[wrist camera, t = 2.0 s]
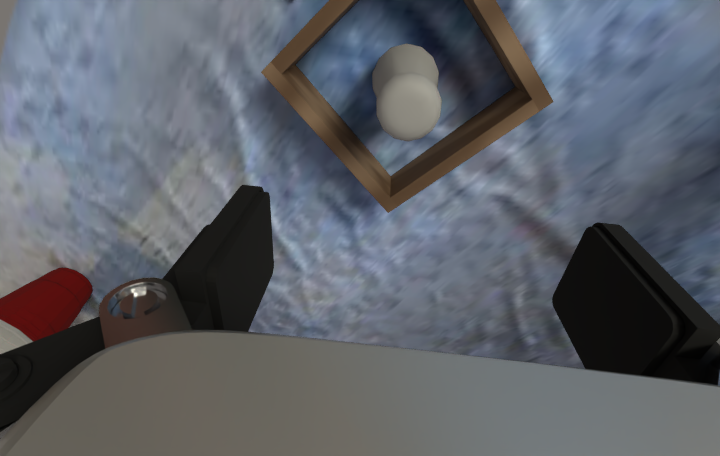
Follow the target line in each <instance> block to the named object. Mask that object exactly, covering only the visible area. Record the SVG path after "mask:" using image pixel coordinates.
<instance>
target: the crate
mask: <svg viewBox="0 0 720 456" xmlns="http://www.w3.org/2000/svg"><path fill="white" fill-rule="evenodd" d="M358 1H359V0H329V1H328V2H327V3H326V4H325V5H324V7H323V8H322V9H321V10H320V11H319V12H318V13H317V14H316V15H315V16H314V17H313V18H312V19H311V20H310V21H309V22H308V23H307V24H306V25H305V27H304V28H303V29H302V30H301V31H300V32H299V33H298V34H297V35H296V36H295V37H294V38H293V39H292V40H291V41H290V42H289V43H288V44H287V45H286V47H285V48H284V49H283V50H282V51H281V52H280V53H279V54H278V55H277V56H276V57H275V58H274V59H273V60H272V61H271V62H270V63H269V64H268V65H267V66H266V68H265V69H264V70H263V71H262V72H261V73H262V74H263V75H264V76H265V77H266V78H267V79H268V80H269V82H270V83H271V84H272V85H273V86H274V87H275V88H276V89H277V90H278V91H279V93H280V94H281V95H282V96H283V97H284V98H285V99H286V100H287V101H288V103H289V104H290V105H291V106H292V107H293V108H294V109H295V110H296V111H297V113H298V114H299V115H300V116H301V117H302V118H303V119H304V120H305V121H306V123H307V124H308V125H309V126H310V127H311V128H312V129H313V130H314V131H315V132H316V134H317V135H318V136H319V137H320V138H321V139H322V140H323V141H324V142H325V144H326V145H327V146H328V147H329V148H330V149H331V150H332V151H333V152H334V154H335V155H336V156H337V157H338V158H339V159H340V160H341V161H342V162H343V163H344V165H345V166H346V167H347V168H348V169H349V170H350V171H351V172H352V173H353V175H354V176H355V177H356V178H357V179H358V180H359V181H360V182H361V183H362V185H363V186H364V187H365V188H366V189H367V190H368V191H369V192H370V193H371V195H372V196H373V197H374V198H375V199H376V200H377V201H378V202H379V203H380V204H381V206H382V207H383V208H384V209H385V210H386V211H387V212H388V213H389V212H390V211H392V210H393V209H395V208H396V207H398V206H399V205H401V204H402V203H404V202H405V201H407V200H408V199H409V198H411V197H412V196H414V195H415V194H417V193H418V192H420V191H421V190H423V189H424V188H426V187H427V186H429V185H430V184H432V183H433V182H435V181H436V180H438V179H439V178H441V177H442V176H444V175H445V174H447V173H448V172H450V171H451V170H453V169H454V168H456V167H457V166H459V165H460V164H462V163H463V162H465V161H466V160H468V159H469V158H471V157H472V156H474V155H475V154H476V153H478V152H479V151H481V150H482V149H484V148H485V147H487V146H488V145H490V144H491V143H493V142H494V141H496V140H497V139H499V138H500V137H502V136H503V135H505V134H506V133H508V132H509V131H511V130H512V129H514V128H515V127H517V126H518V125H520V124H521V123H523V122H524V121H526V120H527V119H529V118H530V117H532V116H533V115H535V114H536V113H538V112H539V111H541V110H542V109H543V108H545V107H546V106H548V105H549V104H551V103H552V102H553V100H552V98H551V96H550V95H549V93H548V91H547V89H546V88H545V86H544V84H543V82H542V81H541V79H540V77H539V75H538V74H537V72H536V70H535V68H534V67H533V65H532V63H531V61H530V60H529V58H528V56H527V54H526V53H525V51H524V49H523V47H522V46H521V44H520V42H519V40H518V39H517V37H516V35H515V33H514V32H513V30H512V28H511V26H510V25H509V23H508V21H507V19H506V18H505V16H504V14H503V12H502V10H501V9H500V7H499V5H498V3H497V2H496V0H463V1H464V2H465V4H466V6H467V7H468V9H469V11H470V12H471V14H472V16H473V17H474V19H475V21H476V22H477V24H478V26H479V27H480V29H481V31H482V32H483V34H484V35H485V37H486V39H487V40H488V42H489V44H490V45H491V47H492V49H493V50H494V52H495V54H496V55H497V57H498V59H499V60H500V62H501V64H502V65H503V67H504V68H505V70H506V72H507V73H508V75H509V77H510V78H511V80H512V82H513V83H514V85H515V87H514V88H513V89H511V90H510V91H509V92H507V93H506V94H505V95H503V96H502V97H500V98H499V99H498V100H496V101H495V102H493V103H492V104H491V105H489V106H488V107H486V108H485V109H484V110H482V111H481V112H480V113H478V114H477V115H475V116H474V117H473V118H471V119H470V120H468V121H467V122H466V123H464V124H463V125H461V126H460V127H459V128H457V129H456V130H455V131H453V132H452V133H450V134H449V135H448V136H446V137H445V138H443V139H442V140H441V141H439V142H438V143H436V144H435V145H434V146H432V147H431V148H429V149H428V150H427V151H425V152H424V153H423V154H421V155H420V156H418V157H417V158H416V159H414V160H413V161H411V162H410V163H409V164H407V165H406V166H404V167H403V168H402V169H400V170H399V171H398V172H396V173H395V174H393V175H392V176H390V175H389V174H388V173H387V171H386V170H385V169H384V168H383V167H382V166H381V164H380V163H379V162H378V161H377V160H376V159H375V157H374V156H373V155H372V154H371V153H370V152H369V150H368V149H367V148H366V147H365V146H364V144H363V143H362V142H361V141H360V140H359V139H358V137H357V136H356V135H355V134H354V133H353V132H352V130H351V129H350V128H349V127H348V126H347V125H346V123H345V122H344V121H343V120H342V119H341V118H340V116H339V115H338V114H337V113H336V112H335V111H334V109H333V108H332V107H331V106H330V105H329V103H328V102H327V101H326V100H325V99H324V98H323V96H322V95H321V94H320V93H319V92H318V91H317V89H316V88H315V87H314V86H313V85H312V84H311V82H310V81H309V80H308V79H307V78H306V77H305V75H304V74H303V73H302V72H301V71H300V70H299V68H298V67H297V66H296V65H295V64H296V63H297V62H298V61H299V60H300V59H301V58H302V57H303V56H304V55H305V54H306V53H307V52H308V51H309V50H310V49H311V48H312V47H313V46H314V45H315V44H316V43H317V42H318V41H319V40H320V39H321V38H322V37H323V36H324V35H325V34H326V33H327V32H328V31H329V30H330V29H331V28H332V27H333V26H334V25H335V24H336V23H337V22H338V21H339V20H340V19H341V18H342V17H343V16H344V15H345V14H346V13H347V12H348V11H349V10H350V9H351V8H352V7H353V6H354V5H355V4H356V3H357V2H358Z"/></svg>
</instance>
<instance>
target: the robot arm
mask: <svg viewBox="0 0 720 456" xmlns="http://www.w3.org/2000/svg"><path fill="white" fill-rule="evenodd" d="M273 268H274V259H273V243H272V226H271V210H270V196H269V193H268V192H264V191H263V188H262V187H258V186H248V185H242V186H240V188H239V189H238V190H237V191H236V193H235V194H234V195H233V197H232V198H231V199H230V200H229V202H228V203H227V204H226V205H225V207H224V208H223V209H222V210H221V212H220V213H219V214H218V215H217V217H216V218H215V219H214V220H213V222H212V223H211V224H210V225H206V226H205V227H204V228H203V229H202V231H201V232H200V233H199V234H198V236H197V237H196V238H195V239H194V241H193V242H192V243H191V244H190V245H189V247H188V248H187V249H186V250H185V252H184V253H183V254H182V255H181V257H180V258H179V259H178V260H177V262H176V263H175V264H174V265H173V266H172V268H171V269H170V270H169V271H168V273H167V274H166V275H165V276H164V278H163V279H160V278H141V279H136V280H132V281H129V282H127V283H124V284H122V285H120V286H118V287H116V288H115V289H113V290H112V291H110V292H109V293H108V294H107V295H106V296H105V297H104V298H103V300H102V302H101V303H100V305H99V317H97V318H94V319H92V320H89V321H86V322H84V323H81V324H78V325H76V326H73V327H70V328H68V329H65V330H63V331H60V332H57V333H55V334H52V335H49V336H47V337H44V338H42V339H39V340H36V341H34V342H31V343H28V344H26V345H23V346H20V347H18V348H15V349H13V350H10V351H7V352H5V353H2V354H0V456H720V345H719V344H718V343H717V342H716V341H717V340H718V339H719V338H720V325H719V324H718V323H717V322H716V321H715V320H714V319H713V318H712V317H711V316H710V315H709V314H708V313H707V312H706V311H705V310H704V309H703V308H702V307H701V306H700V305H699V304H698V303H697V302H696V301H695V300H694V299H693V298H692V297H691V296H690V295H689V294H688V293H687V292H686V291H685V290H684V289H683V288H682V287H681V286H680V285H679V284H678V283H677V282H676V281H675V280H674V279H673V278H672V277H671V276H670V275H669V274H668V273H667V272H666V271H665V270H664V269H663V268H662V267H661V266H660V265H659V264H658V263H657V261H656V260H655V259H654V258H653V257H652V256H651V255H650V254H649V253H648V252H647V251H646V250H645V249H644V248H643V247H642V246H641V245H640V244H639V243H638V242H637V241H636V240H635V239H634V238H633V237H632V236H631V235H630V234H629V233H628V232H627V231H626V230H625V229H624V228H623V227H622V226H620V225H616V224H607V223H595V224H594V225H593V226H592V227H588V228H587V229H586V230H585V232H584V234H583V236H582V238H581V240H580V242H579V244H578V246H577V248H576V250H575V252H574V254H573V256H572V258H571V260H570V262H569V264H568V266H567V268H566V270H565V272H564V274H563V276H562V278H561V280H560V282H559V284H558V286H557V288H556V290H555V292H554V295H553V299H552V303H553V307H554V309H555V311H556V313H557V315H558V317H559V319H560V320H561V322H562V324H563V326H564V328H565V330H566V332H567V334H568V336H569V338H570V340H571V342H572V344H573V346H574V348H575V350H576V351H577V353H578V355H579V357H580V359H581V361H582V363H583V365H584V367H585V369H583V368H574V367H566V366H557V365H548V364H540V363H531V362H522V361H514V360H505V359H496V358H487V357H479V356H470V355H461V354H452V353H443V352H435V351H426V350H417V349H408V348H399V347H390V346H381V345H372V344H362V343H353V342H344V341H335V340H326V339H317V338H307V337H298V336H289V335H280V334H269V333H256V332H248V330H249V328H250V325H251V323H252V321H253V318H254V316H255V314H256V311H257V309H258V307H259V305H260V302H261V300H262V298H263V295H264V293H265V291H266V288H267V286H268V284H269V281H270V279H271V277H272V274H273Z"/></svg>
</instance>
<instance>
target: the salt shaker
mask: <svg viewBox="0 0 720 456" xmlns="http://www.w3.org/2000/svg"><path fill="white" fill-rule="evenodd" d="M438 76H439V72H438V69H437V66H436V64H435V61H434V58H433V57H432V56H431V55H430V54H429V53H428V52H426V51H425V50H424V49H423V48H422V47H419V46H415V45H410V44H403V45H399V46H395V47H392V48H390V49H389V50H388V51H387V52H386V53H385V54H383V55H382V56H381V57H380V58H379V60H378V62H377V64H376V66H375V69H374V71H373V73H372V79H373V90H374V93H375V95H376V97H377V100H376V103H377V117H378V119H379V121H380V124H381V126H382V128H383V130H384V131H386V132H387V133H388V134H389V135H391V136H392V137H393V138H395V139H399V140H404V141H411V140H416V139H420V138H422V137H424V136H425V135H426V134H428V133H429V132H431V131H432V130H433V128H434V127H435V125H436V123H437V121H438V119H439V118H440V112H441V103H442V99H441V97H440V94H439V92H438V89H437V86H438Z"/></svg>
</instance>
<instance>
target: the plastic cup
mask: <svg viewBox="0 0 720 456" xmlns="http://www.w3.org/2000/svg"><path fill="white" fill-rule="evenodd" d="M91 293H92V285H91V284H90V282H89V280H88V279H87V278H86V277H84V276H83V275H82V274H80V273H79V272H77V271H75V270H72V269H69V268H58V269H56V270H53V271H51V272H49V273H47V274H45V275H44V276H42V277H40V278H38V279H37V280H34V281H32V282H30V283H28V284H26V285H25V286H23V287H21V288H19V289H17V290H15V291H14V292H12V293H10V294H8V295H6V296H5V297H3V298H1V299H0V354H2V353H5V352H7V351H10V350H13V349H15V348H18V347H20V346H23V345H26V344H28V343H31V342H34V341H36V340H39V339H42V338H44V337H47V336H49V335H52V334H55V333H57V332H60V331H63V330H65V329H68V328H69V327H70V325H71V324H72V322H73V321H74V320H75V318H76V317H77V315H78V314H79V312H80V311H81V309H82V307H83V306H84V304H85V303H86V302H87V300H88V299H89V297H90V296H91Z"/></svg>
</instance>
